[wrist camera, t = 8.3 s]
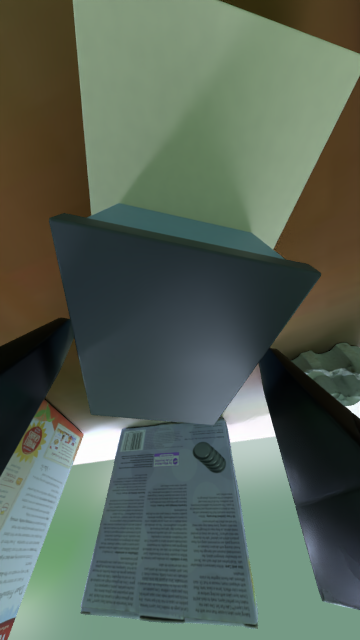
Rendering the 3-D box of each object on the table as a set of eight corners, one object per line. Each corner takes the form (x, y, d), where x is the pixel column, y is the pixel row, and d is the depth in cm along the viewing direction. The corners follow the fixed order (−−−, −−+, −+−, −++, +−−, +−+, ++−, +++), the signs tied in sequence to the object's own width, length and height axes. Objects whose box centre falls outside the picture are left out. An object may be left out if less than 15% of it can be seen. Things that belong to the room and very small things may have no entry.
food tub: (116, 344, 14) (90, 415, 10) (113, 196, 8) (46, 216, 4) (204, 356, 15) (214, 425, 11) (258, 229, 9) (324, 273, 5)
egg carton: (364, 335, 19) (403, 369, 16) (348, 377, 23) (375, 410, 20) (256, 358, 21) (271, 392, 18) (261, 393, 25) (273, 424, 22)
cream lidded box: (117, 350, 20) (105, 383, 17) (112, 35, 8) (66, -60, 5) (198, 361, 21) (201, 393, 18) (302, 98, 9) (369, 56, 6)
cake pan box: (126, 439, 35) (92, 610, 21) (114, 428, 32) (65, 620, 18) (227, 428, 32) (264, 619, 18) (224, 415, 29) (265, 632, 15)
